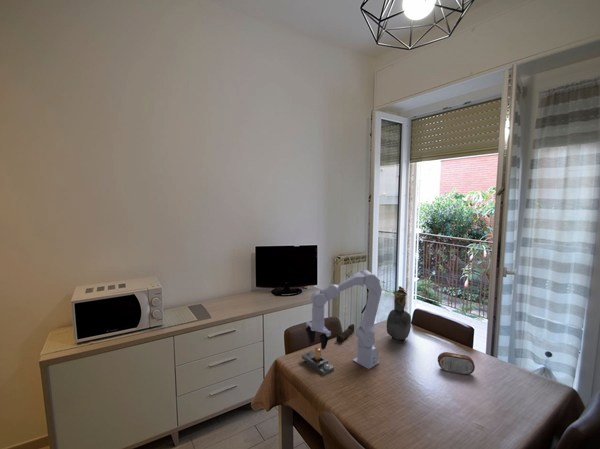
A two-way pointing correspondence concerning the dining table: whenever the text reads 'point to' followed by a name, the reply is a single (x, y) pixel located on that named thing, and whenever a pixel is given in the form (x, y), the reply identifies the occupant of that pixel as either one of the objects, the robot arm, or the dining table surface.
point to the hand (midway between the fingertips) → (317, 345)
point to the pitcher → (399, 318)
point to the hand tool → (345, 333)
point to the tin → (456, 363)
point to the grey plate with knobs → (321, 366)
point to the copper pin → (317, 355)
